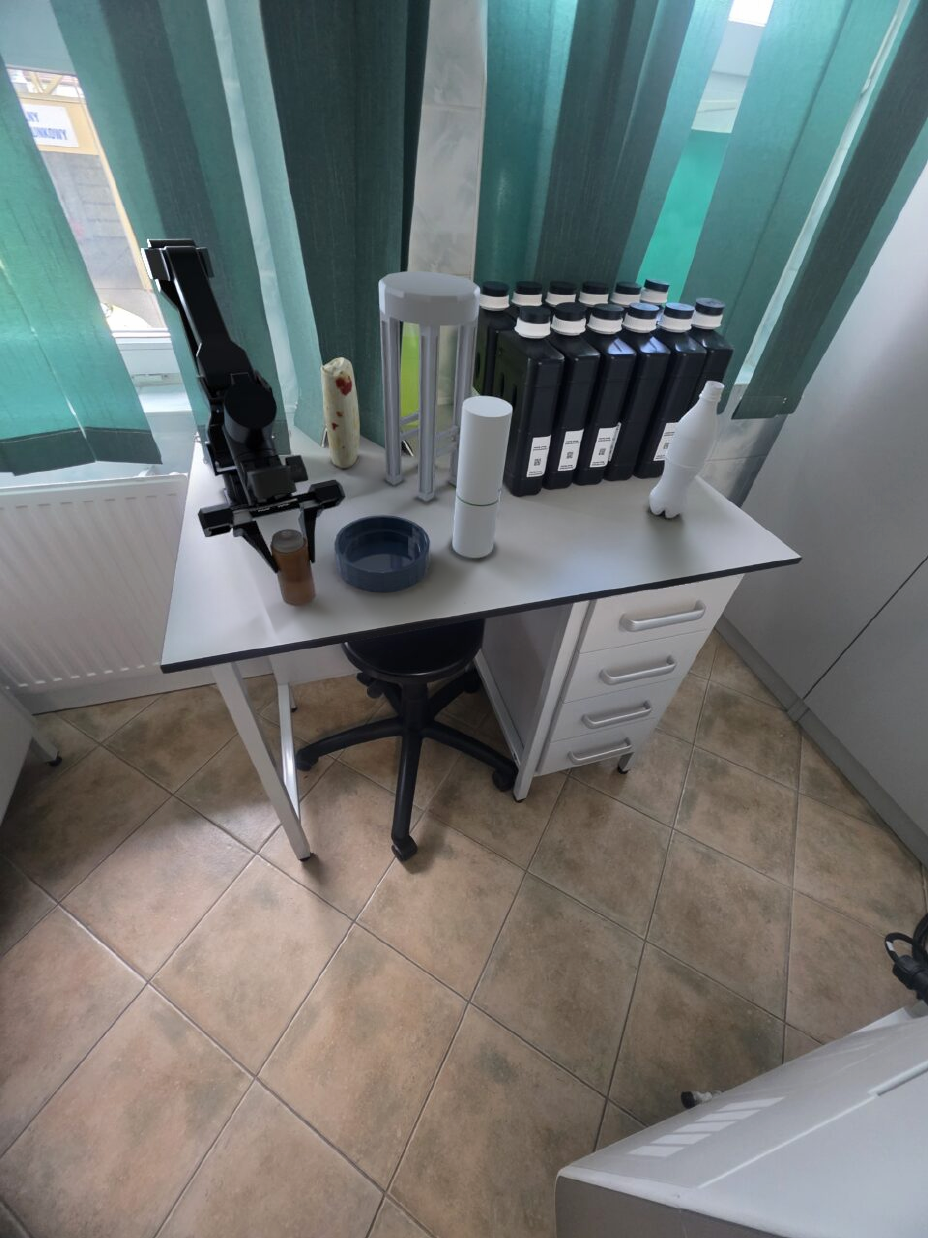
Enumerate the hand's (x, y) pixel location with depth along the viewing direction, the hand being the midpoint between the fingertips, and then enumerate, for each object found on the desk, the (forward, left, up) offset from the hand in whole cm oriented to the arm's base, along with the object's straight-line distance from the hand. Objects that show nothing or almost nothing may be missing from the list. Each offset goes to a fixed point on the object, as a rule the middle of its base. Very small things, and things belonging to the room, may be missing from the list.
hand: (295, 567), depth 70 cm
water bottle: (+2, +73, -8) cm, 73 cm away
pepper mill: (-1, 0, -6) cm, 6 cm away
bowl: (-5, +15, -8) cm, 18 cm away
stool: (-26, +33, -8) cm, 43 cm away
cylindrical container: (-3, +31, -8) cm, 32 cm away
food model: (-40, +21, -8) cm, 46 cm away
